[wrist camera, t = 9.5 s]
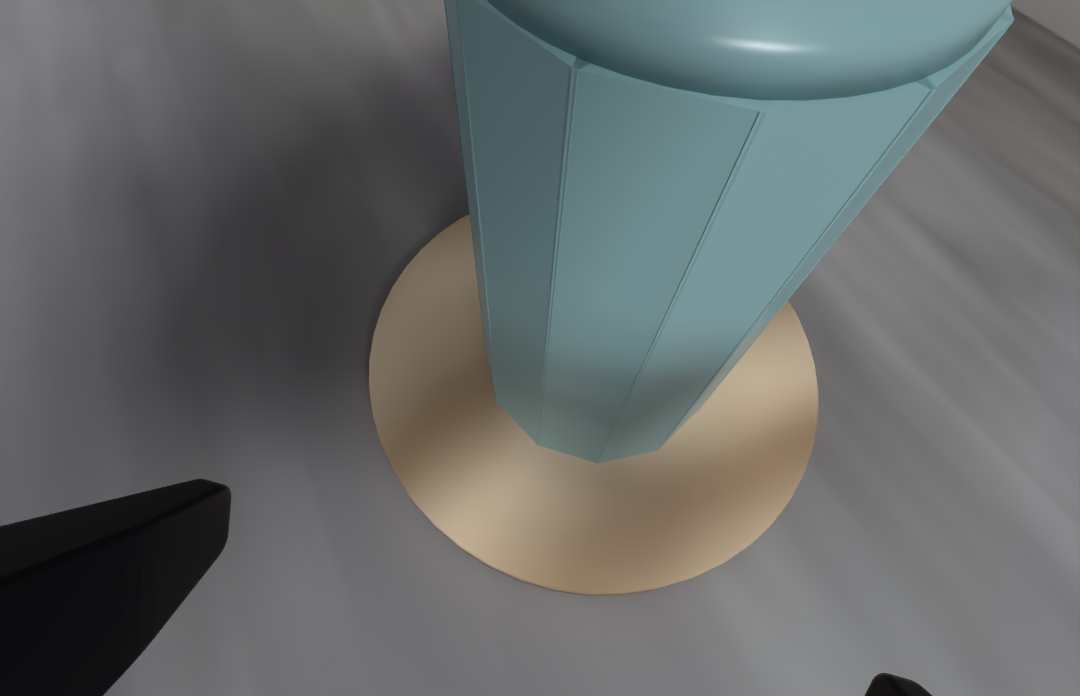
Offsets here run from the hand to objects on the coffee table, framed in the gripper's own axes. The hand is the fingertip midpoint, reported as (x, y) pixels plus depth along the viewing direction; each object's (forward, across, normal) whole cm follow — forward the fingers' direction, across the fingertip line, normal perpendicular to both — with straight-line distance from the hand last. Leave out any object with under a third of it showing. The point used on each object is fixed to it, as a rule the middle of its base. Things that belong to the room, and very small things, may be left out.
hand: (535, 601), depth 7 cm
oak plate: (+12, 0, 0) cm, 12 cm away
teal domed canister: (+11, 0, -1) cm, 11 cm away
